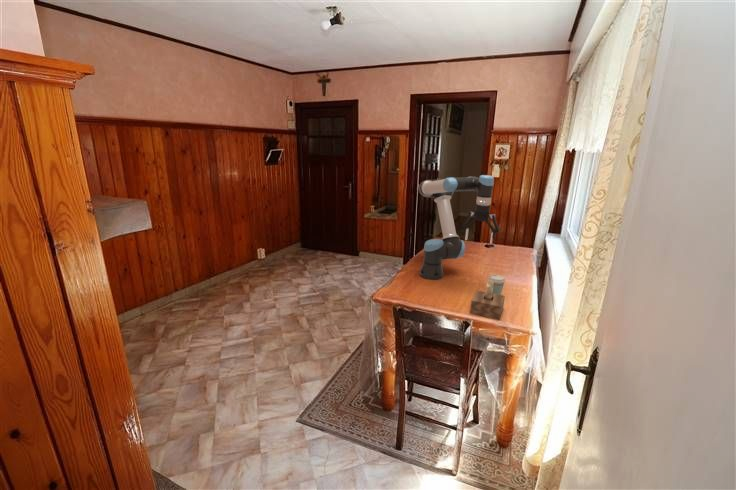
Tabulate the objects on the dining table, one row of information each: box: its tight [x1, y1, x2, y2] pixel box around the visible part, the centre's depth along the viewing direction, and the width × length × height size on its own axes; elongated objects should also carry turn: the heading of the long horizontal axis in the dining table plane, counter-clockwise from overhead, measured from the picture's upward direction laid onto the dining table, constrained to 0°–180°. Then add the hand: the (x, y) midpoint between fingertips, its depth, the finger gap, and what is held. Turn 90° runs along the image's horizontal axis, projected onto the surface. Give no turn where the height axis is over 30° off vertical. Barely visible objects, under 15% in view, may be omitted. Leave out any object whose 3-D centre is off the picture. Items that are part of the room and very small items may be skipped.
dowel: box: [485, 279, 494, 300], centre depth 169 cm, size 3×3×14 cm
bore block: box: [469, 290, 506, 321], centre depth 170 cm, size 14×14×7 cm
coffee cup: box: [488, 274, 506, 295], centre depth 185 cm, size 8×9×12 cm
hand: (478, 241), depth 188 cm, fingers open, 13 cm apart
